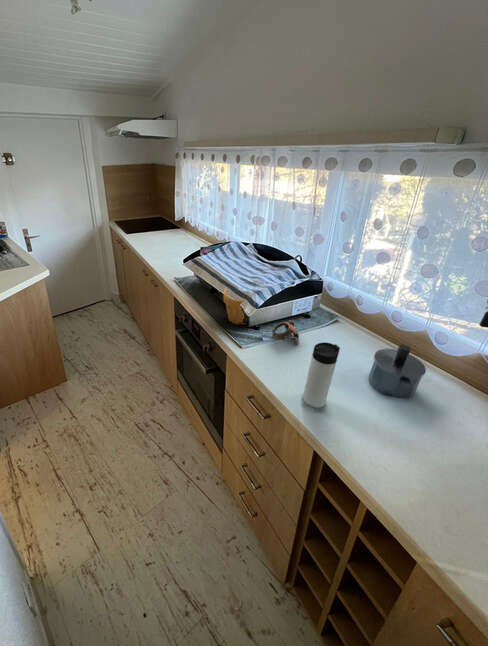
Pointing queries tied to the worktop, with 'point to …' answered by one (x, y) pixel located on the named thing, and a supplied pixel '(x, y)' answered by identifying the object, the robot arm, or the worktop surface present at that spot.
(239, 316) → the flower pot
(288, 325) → the brown goggles
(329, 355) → the travel mug
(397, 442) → the worktop surface
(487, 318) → the robot arm
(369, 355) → the worktop surface
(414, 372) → the lid
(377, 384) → the pot
